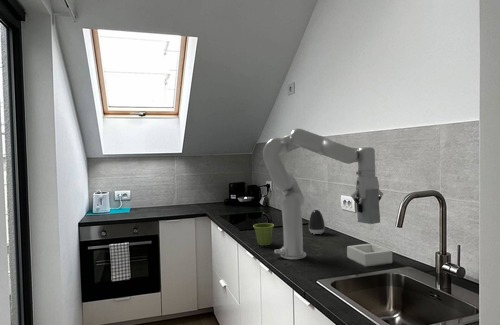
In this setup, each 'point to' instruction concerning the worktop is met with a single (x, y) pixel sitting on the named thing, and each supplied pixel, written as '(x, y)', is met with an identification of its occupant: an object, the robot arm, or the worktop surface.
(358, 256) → the box
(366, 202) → the skincare box
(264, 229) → the plant pot
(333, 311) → the worktop surface
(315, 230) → the black rounded dome
